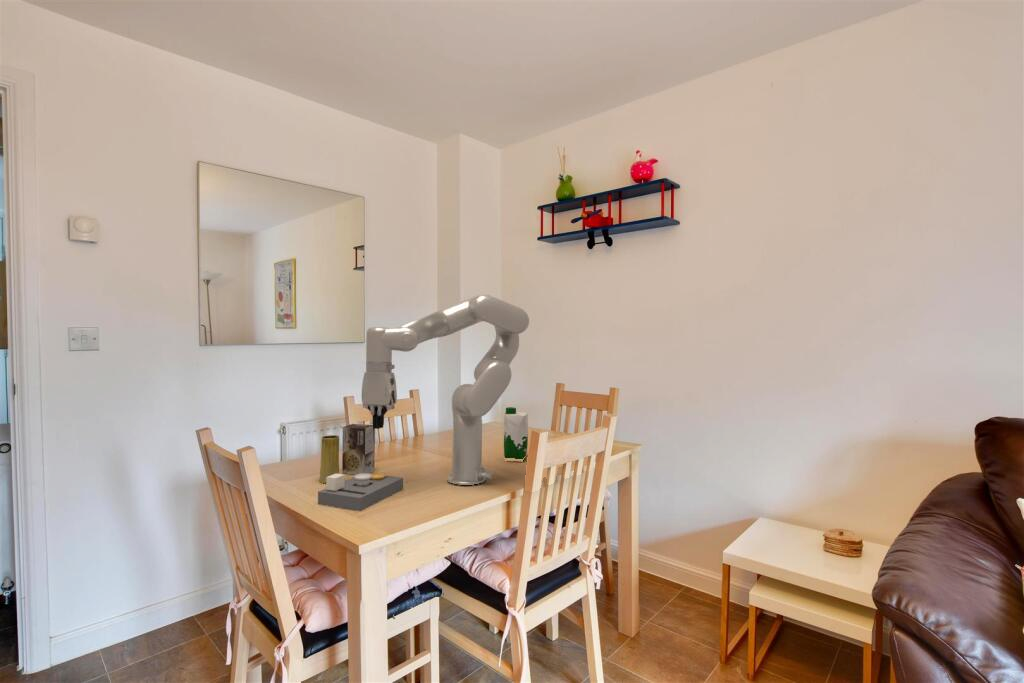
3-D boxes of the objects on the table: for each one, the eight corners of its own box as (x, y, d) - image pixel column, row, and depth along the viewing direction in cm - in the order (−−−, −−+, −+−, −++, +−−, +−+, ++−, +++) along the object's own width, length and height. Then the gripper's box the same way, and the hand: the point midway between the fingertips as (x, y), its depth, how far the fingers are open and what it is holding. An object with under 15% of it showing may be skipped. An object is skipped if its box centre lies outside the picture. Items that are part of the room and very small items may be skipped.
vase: (342, 478, 163) (342, 435, 162) (336, 483, 156) (336, 438, 156) (323, 478, 162) (324, 434, 162) (316, 483, 156) (317, 438, 156)
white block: (344, 495, 141) (344, 474, 141) (334, 499, 137) (335, 478, 137) (335, 494, 142) (336, 473, 142) (326, 498, 138) (326, 477, 138)
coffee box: (375, 471, 172) (376, 424, 172) (364, 476, 166) (365, 428, 166) (352, 469, 174) (352, 423, 174) (341, 473, 168) (341, 426, 168)
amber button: (388, 483, 153) (388, 473, 153) (379, 488, 148) (379, 477, 148) (375, 481, 155) (375, 471, 155) (365, 486, 150) (365, 475, 150)
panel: (403, 489, 152) (403, 477, 152) (360, 511, 133) (360, 498, 133) (364, 483, 157) (364, 472, 157) (317, 504, 137) (318, 491, 137)
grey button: (374, 484, 146) (374, 474, 146) (364, 489, 142) (364, 478, 142) (361, 482, 148) (361, 472, 148) (350, 487, 143) (350, 476, 143)
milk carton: (506, 456, 197) (507, 406, 197) (528, 458, 195) (529, 407, 195) (501, 461, 188) (502, 409, 188) (525, 463, 187) (526, 410, 187)
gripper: (406, 368, 152) (406, 427, 152) (365, 366, 157) (365, 424, 157) (392, 369, 145) (392, 432, 145) (350, 367, 150) (349, 428, 150)
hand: (378, 427), depth 151 cm, fingers closed
